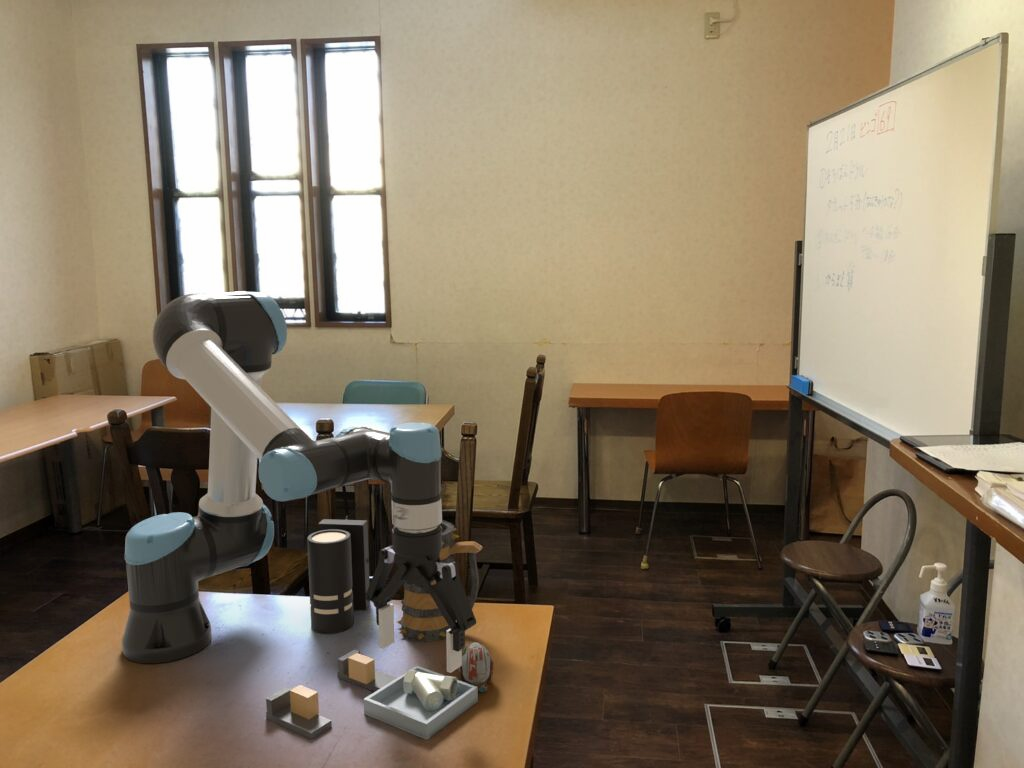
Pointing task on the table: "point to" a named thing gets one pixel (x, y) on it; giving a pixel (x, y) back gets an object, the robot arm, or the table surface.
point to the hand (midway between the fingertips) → (419, 656)
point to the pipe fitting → (430, 688)
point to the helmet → (476, 665)
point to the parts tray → (417, 707)
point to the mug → (419, 606)
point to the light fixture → (338, 573)
